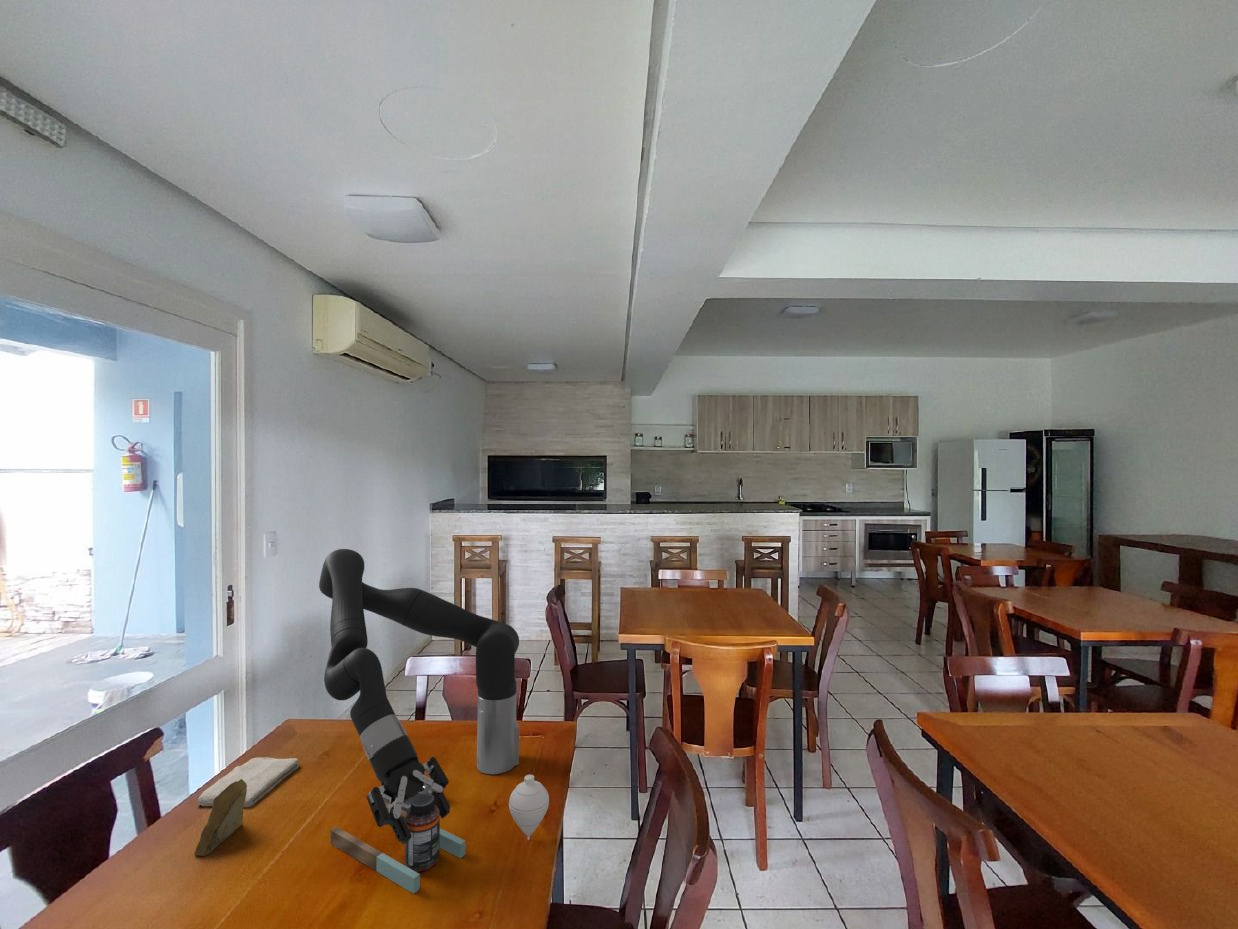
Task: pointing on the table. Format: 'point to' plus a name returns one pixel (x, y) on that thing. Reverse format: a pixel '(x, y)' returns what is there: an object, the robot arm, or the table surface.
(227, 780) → the washcloth
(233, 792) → the rock
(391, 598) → the robot arm
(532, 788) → the spinning top
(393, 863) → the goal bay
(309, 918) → the table surface
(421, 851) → the supplement bottle
